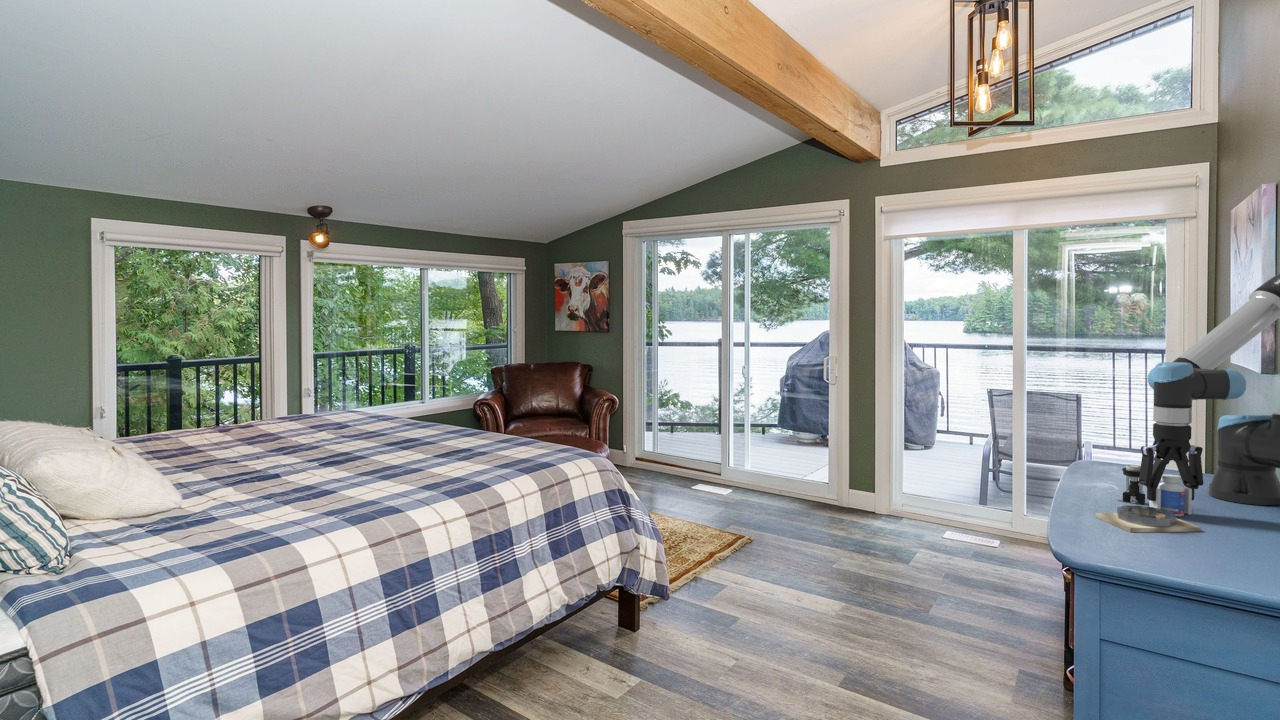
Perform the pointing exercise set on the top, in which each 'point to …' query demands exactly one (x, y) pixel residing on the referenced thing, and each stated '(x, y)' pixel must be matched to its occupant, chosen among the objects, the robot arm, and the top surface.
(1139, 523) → the ring
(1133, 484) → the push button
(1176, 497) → the pill bottle
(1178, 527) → the board
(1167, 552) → the top surface
